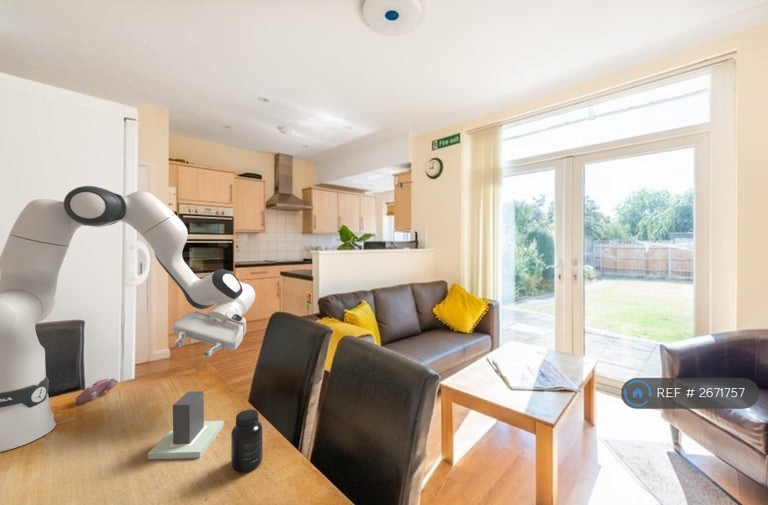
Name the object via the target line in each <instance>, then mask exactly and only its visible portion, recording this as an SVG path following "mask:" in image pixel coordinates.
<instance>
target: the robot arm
mask: <svg viewBox="0 0 768 505" xmlns="http://www.w3.org/2000/svg"><path fill="white" fill-rule="evenodd" d="M118 222H123V223H126V224H127V225H129V226H131V227H132V228H133V229H134V230H135V231H136V232H137V233H139V234H140V235H141V237H143V239H145V241H146V242H147V243H148V245H149V246H150V247H151V249H152V250H153V253H154V257H155V258H156V260H157V262H158V263H159V265H160V266H161V267H162V268H163V269H164V271H165V272H166V273H167V274H168V276H169V277H170V278H171V279H172V280H173V281H174V283H176V285H177V287H179V289H180V290H181V291H182V293H183V295H184V297H185V299H186V301H187V303H189V305H190V306H192V307H193V308H195V309H198V310H207V309H209V308H211V307H213V306H214V305H215V304H216V305H215V306H214V307H213V308H212V309H211V310H210V311H209V312H207V313H203V312H200V311H195V312H194V311H192V312H188V313H187V314H185V315H183V316H182V317H180V319H178V320H177V321H175V322H174V323H173V333H174V334H175V335H177V336H178V338H177V339H176V340H175V341H174V343H173V344H174V347H177V348H181V347H182V346H183V345H184V340H185V339H186V338H188V339H190V340H191V339H192V340H195V341H199V342H202V343H204V344H207V345H211V346H213V347H207V348H206V350H204V355H205V356H207V357H211V356H212V355H213V354H215V353H217V352H219V351H221V350H223V349H224V350H227V351H231V352H232V351H235V350H236V349H237V348H239V346H240V344H241V343H242V341H243V338H244V336H245V335H246V332H247V321H246V318H245V317H243V316H244V315H245V314H246V313H247V312H248V310H249V309H250V308H251V307H252V305H253V304H254V302H255V300H256V291H255V290H254V288H253V286H251V285H250V284H248V283H246V282H242V281H240V280H239V279H238V278H237V277H236V276H235V274H234V273H233V272H231V271H229V270H227V269H223V268H221V269H217V270H215V271H213V272H211V273H209V274H208V275H206V276H204V277H203V278H200V277H198V276H196V274H195V273H194V272H193V270H192V269H191V268H190V267H189V265H188V264H187V263H186V262H185V260H184V257H183V250H184V247H185V245H186V243H187V241H188V237H189V236H188V234H189V233H188V228H187V226H186V225H185V222H183V220H182V219H181V218H180V217H179V216H177V214H175V212H174V211H173V210H172V209H171V208H170V207H168V206H167V205H166V204H165V203H164V202H163V201H162V200H160V199H159V198H158V197H156V196H155V195H154V194H152V193H151V192H148V191H145V190H138V191H135V192H131V193H129V194H127V195H125V196H122V195H121V194H118V193H116V192H113V191H110V190H108V189H106V188H103V187H97V186H92V185H84V186H79V187H76V188H74V189H72V190H70V191H68V192H67V194H66V195H65V197H64V200H63V201H61V200H57V199H52V198H51V199H49V198H38V199H33V200H31V201H30V202H27V204H26V205H25V207H24V208H23V209H22V211H21V212H20V213H19V215H18V216H17V217H16V219H15V222H14V223H13V225H12V227H11V230H10V231H9V234H8V236H7V240H6V242H5V244H4V246H3V249H2V251H1V254H0V453H2V452H5V451H9V450H12V449H15V448H18V447H22V446H24V445H27V444H29V443H32V442H35V441H36V440H38V439H40V438H43V436H45V435H47V434H49V433H50V432H51V431H53V429H55V427H56V426H57V424H56V421H55V414H54V412H52V407H51V403H50V397H49V393H48V392H49V389H50V388H49V382H50V380H49V377H48V376H47V375H46V374H47V373H46V372H47V371H46V349H45V347H44V346H43V345H42V344H41V343H40V341H39V338H38V335H37V331H36V325H37V324H38V323H40V322H42V321H43V320H45V319H46V318H47V317H48V316H49V315H50V314H51V313H52V311H53V309H54V308H55V305H56V292H57V287H58V286H57V285H58V278H59V274H60V271H61V268H62V265H63V263H64V260H65V257H66V255H67V252H68V250H69V246H70V244H71V241H72V238H73V236H74V234H75V232H76V231H77V230H78V229H79V228H80V227H82V226H89V227H94V228H95V227H96V228H102V227H108V226H112V225H114V224H117V223H118Z"/></svg>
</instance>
